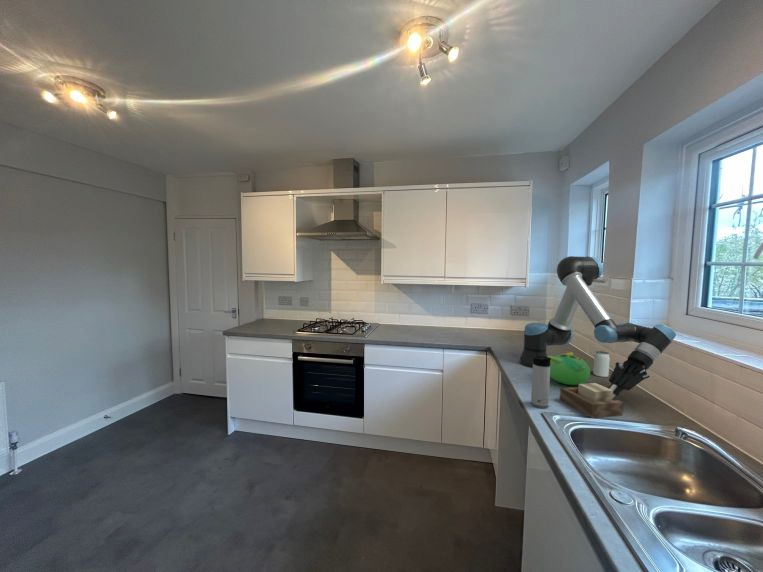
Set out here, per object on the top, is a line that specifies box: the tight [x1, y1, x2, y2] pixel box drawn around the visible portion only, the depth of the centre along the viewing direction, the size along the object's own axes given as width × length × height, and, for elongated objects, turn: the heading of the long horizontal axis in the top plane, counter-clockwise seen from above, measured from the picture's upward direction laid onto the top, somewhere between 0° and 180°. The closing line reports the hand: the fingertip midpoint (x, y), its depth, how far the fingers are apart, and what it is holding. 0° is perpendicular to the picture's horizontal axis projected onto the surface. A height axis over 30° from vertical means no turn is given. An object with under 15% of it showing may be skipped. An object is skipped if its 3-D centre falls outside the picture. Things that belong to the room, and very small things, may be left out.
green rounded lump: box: [547, 351, 591, 386], centre depth 149 cm, size 18×17×15 cm
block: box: [577, 382, 614, 402], centre depth 125 cm, size 8×8×8 cm
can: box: [593, 350, 611, 378], centre depth 162 cm, size 6×6×12 cm
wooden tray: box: [559, 386, 624, 419], centre depth 125 cm, size 14×16×5 cm
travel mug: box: [530, 356, 551, 409], centre depth 125 cm, size 6×7×20 cm
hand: (606, 398), depth 126 cm, fingers closed
